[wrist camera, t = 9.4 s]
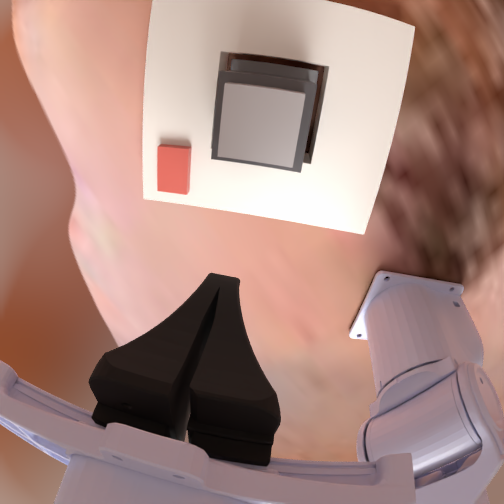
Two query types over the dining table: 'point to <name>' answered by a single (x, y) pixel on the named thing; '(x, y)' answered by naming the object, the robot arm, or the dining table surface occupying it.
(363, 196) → the socket plate
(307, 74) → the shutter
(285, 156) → the plug
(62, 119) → the dining table surface
